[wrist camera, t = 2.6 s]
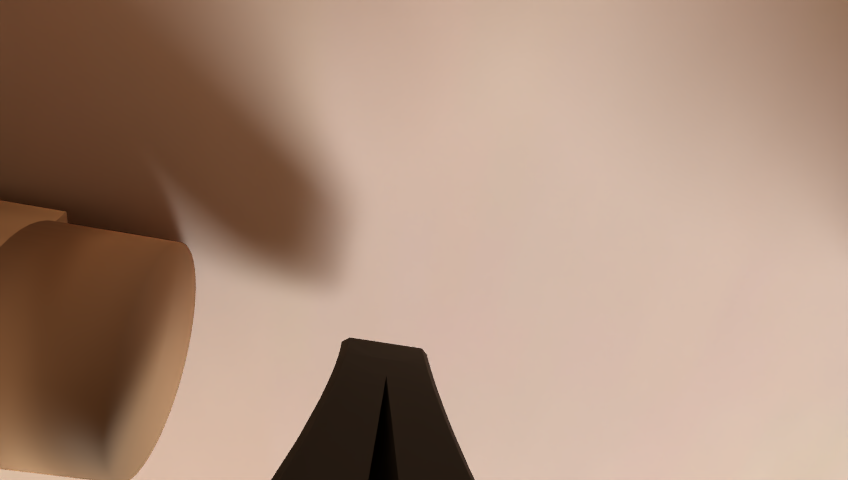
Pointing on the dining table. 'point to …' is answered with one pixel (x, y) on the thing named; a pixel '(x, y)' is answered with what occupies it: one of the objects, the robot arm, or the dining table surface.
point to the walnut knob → (87, 343)
